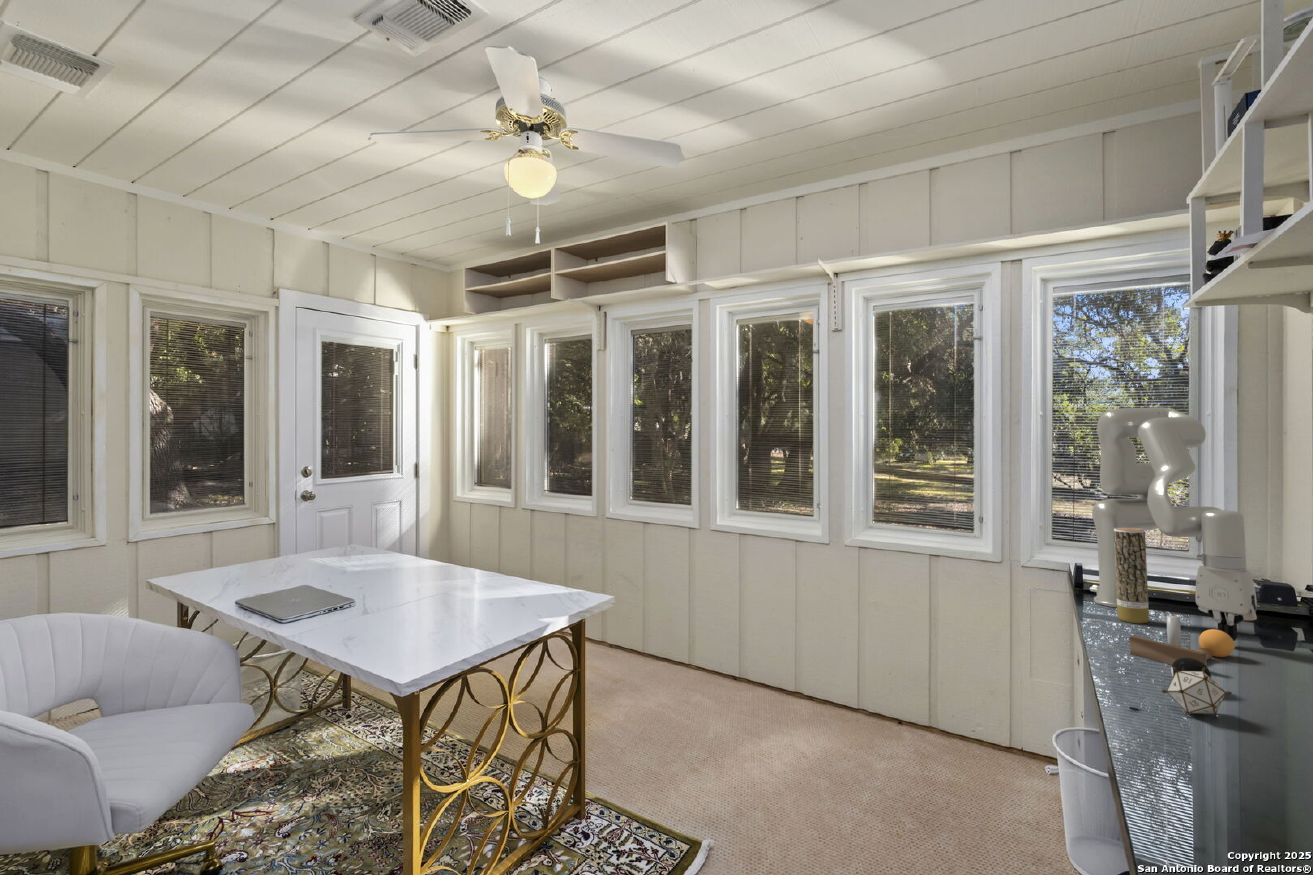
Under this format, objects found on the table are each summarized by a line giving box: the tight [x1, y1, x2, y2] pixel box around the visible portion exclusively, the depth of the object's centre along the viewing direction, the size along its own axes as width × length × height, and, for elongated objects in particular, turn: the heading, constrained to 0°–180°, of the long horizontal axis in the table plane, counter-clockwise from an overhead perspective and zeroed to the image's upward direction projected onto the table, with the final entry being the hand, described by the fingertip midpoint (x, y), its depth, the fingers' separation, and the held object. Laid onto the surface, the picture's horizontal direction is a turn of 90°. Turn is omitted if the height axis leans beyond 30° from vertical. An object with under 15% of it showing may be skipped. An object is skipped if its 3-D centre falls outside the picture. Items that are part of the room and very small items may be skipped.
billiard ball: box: [1170, 658, 1212, 679], centre depth 122 cm, size 6×6×6 cm
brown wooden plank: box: [1129, 635, 1208, 667], centre depth 136 cm, size 2×14×4 cm, turn 23°
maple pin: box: [1195, 647, 1214, 660], centre depth 137 cm, size 2×2×8 cm
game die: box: [1160, 667, 1233, 716], centre depth 111 cm, size 9×8×10 cm
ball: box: [1198, 628, 1235, 658], centre depth 139 cm, size 6×6×6 cm
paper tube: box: [1114, 528, 1150, 624], centre depth 168 cm, size 7×7×25 cm
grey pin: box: [1166, 615, 1182, 647], centre depth 142 cm, size 2×2×8 cm
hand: (1227, 640), depth 146 cm, fingers closed
